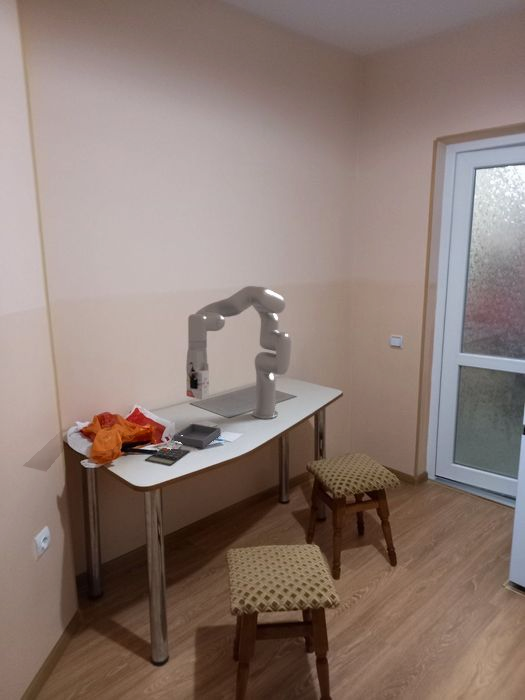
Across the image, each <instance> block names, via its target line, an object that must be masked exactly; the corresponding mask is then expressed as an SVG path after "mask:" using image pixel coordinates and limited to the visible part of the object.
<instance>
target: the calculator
mask: <svg viewBox="0 0 525 700" xmlns="http://www.w3.org/2000/svg"><path fill="white" fill-rule="evenodd" d="M189 453H191V450H188V449H182V448H178V449H171V450H170V449H167V448H163V447H162V448H159V450H158V451H155V452H154V453H152V454H151V455H149V456H148V457H147V458H145V459H144V461H146V462H148V463H153V464H158V465H159V464H160V465H164V466H168V467H172V466H173V465H175V464H176V463H177V462H178V461H180V460H181V459H182V458H183V459H184V457H186V456H187V455H188V454H189Z"/></svg>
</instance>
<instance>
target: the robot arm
mask: <svg viewBox="0 0 525 700" xmlns="http://www.w3.org/2000/svg"><path fill="white" fill-rule="evenodd" d="M251 306H252V307H253V309H254V310H255V311H256V312H257V314H258V316H259V318H260V328H259V329H260V331H259V346H260V347H261V348H262V349H264V350H267V351H262V352H261V351H260V352H258V354H257V355H256V356H255V357H254V367H255V374H256V375H255V376H256V379H255V380H256V381H255V382H256V383H255V384H256V386H255V389H256V390H255V409H254V410H252V413H251V414H252V416H253V417H255V418H258V419H262V420H270V419H274V418H277V417H278V415H279V412H278V411H277V410H276V405H277V404H276V384H277V383H276V382H277V381H276V376H275V375H279V376H283V375H285V374H287V372H288V371H289V368H290V364H291V363H290V362H291V351H292V339H291V337H290V335H289V333H287V332H284V331H280V330H279V321H280V320H279V317H278V314H281V313H283V312H284V310H285V309H286V300H285V299H284V297H283V296H282V295H280V294H279V293H277V292H275V291H273V290H271V289H268V288H266V287H263V286H254V285H247V286H245V287H243V288H242V289H240V290H238V291H237V292H235V293H234V294H232V295H230V296H229V297H227V298H224V299H221V300H218V301H215V302H212V303H210V304H207V305H205V306H204V307H202V308H200V309H199V310H197V311H196V312H195V313H193V314H189V316H188V318H187V324H188V325H187V329H188V330H187V341H188V344H187V345H188V346H187V353H186V363H185V364H186V367H185V369H186V375H187V374H188V376H189V379H190V388H191V389H197V388H198V380H196V379H197V373H198V372H199V371H201V370H204V363H208V354H207V353H208V351H207V348H208V347H207V345H208V343H207V340H208V339H207V335H208V332H218V331H221V330H222V329H223V328H224V327H225V323H226V320H225V318H229V317H235V316H239V315H240V314H241V313H243V312H245V310H247V309H249V308H250V307H251ZM268 350H269V352H268ZM270 351H273V352H270ZM274 352H275V353H274ZM193 371H194V372H193ZM193 373H194V374H195V376H194V375H193Z"/></svg>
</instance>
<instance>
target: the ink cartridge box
mask: <svg viewBox="0 0 525 700" xmlns="http://www.w3.org/2000/svg"><path fill="white" fill-rule="evenodd" d="M209 370H210V369H209V363H208V362H207V363H204V370H201V371H199V372H198V373H197V379H196V380H198V388H197V389H191V388H190V379H189V376H188V374H187V373H186V397H188V398H193V399H198V400H201V401H202V400H205V399H207V398H209V396H210V387H209V386H210V385H209V382H210V371H209ZM193 372H194V371H193ZM193 375H194V376H195V374H194V373H193Z"/></svg>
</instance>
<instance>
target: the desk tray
mask: <svg viewBox="0 0 525 700" xmlns="http://www.w3.org/2000/svg"><path fill="white" fill-rule="evenodd" d="M221 431H222V429H221V427H216V426H215V427H214V426H209V425H204V424H198V423H190V424H189V425H188V426H186V427H184V428H182V429H181V430H179V431H178V432H176V433H174V434H173V435H172V436H173V438H172V439H173V440H172V442H173V441H178V442H181V443H182V444H183V445H182V446H185V447H191V448H195V449H200V450H204V449H205V448H207V447H208V446H210V445H211V444H212V443H213V442H215V441H216V440H217V439H219V438H220V437H221V435H222V433H221ZM181 435H183V436H181ZM219 436H220V437H219ZM218 437H219V438H218ZM216 438H217V439H216ZM215 439H216V440H215ZM214 440H215V441H214ZM212 441H213V442H212ZM211 442H212V443H211ZM210 443H211V444H210ZM207 445H208V446H207Z"/></svg>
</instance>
